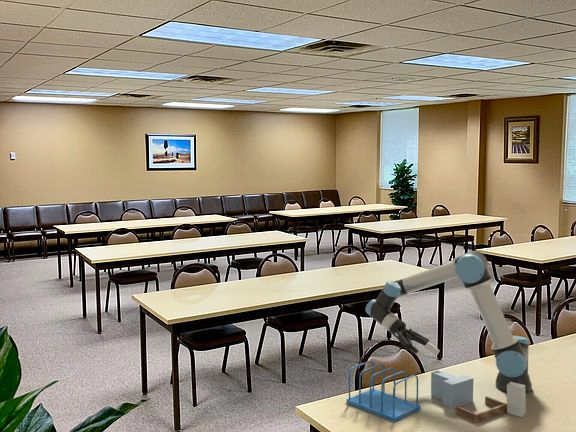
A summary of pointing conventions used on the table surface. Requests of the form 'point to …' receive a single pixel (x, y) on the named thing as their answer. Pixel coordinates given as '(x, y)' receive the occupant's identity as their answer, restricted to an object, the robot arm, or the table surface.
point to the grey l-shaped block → (452, 388)
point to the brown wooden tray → (498, 409)
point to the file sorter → (383, 397)
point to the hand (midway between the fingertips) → (431, 355)
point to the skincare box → (516, 399)
